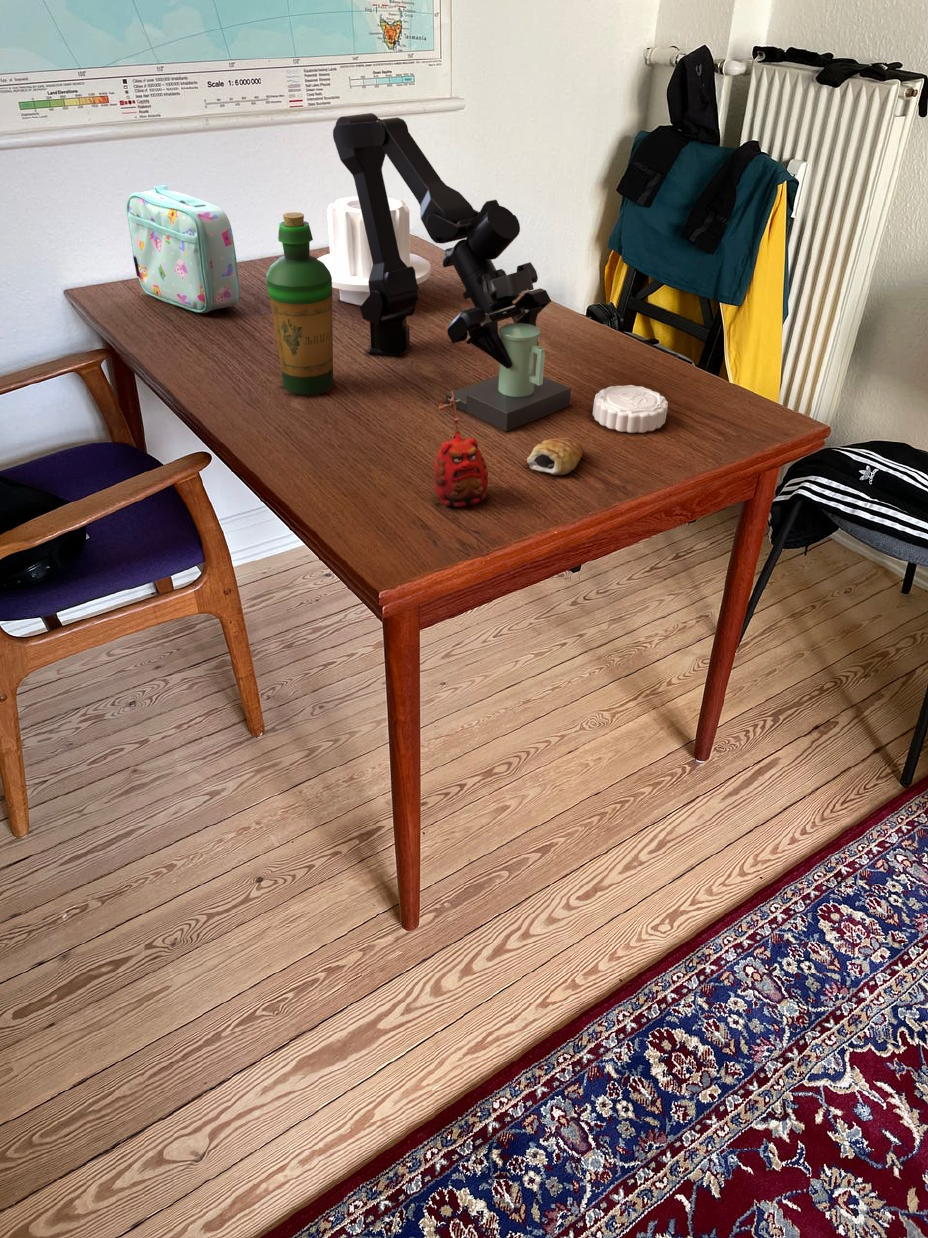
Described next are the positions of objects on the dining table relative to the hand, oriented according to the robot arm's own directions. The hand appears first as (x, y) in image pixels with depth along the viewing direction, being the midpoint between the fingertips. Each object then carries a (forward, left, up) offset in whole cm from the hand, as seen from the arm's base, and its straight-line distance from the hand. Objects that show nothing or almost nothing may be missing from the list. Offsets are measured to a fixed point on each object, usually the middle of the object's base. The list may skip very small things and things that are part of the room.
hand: (523, 362), depth 146 cm
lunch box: (-76, +36, -8) cm, 85 cm away
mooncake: (+18, +2, -8) cm, 20 cm away
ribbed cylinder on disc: (-39, +48, -8) cm, 62 cm away
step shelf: (-3, +2, -8) cm, 9 cm away
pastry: (+8, -17, -8) cm, 21 cm away
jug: (0, 0, -5) cm, 5 cm away
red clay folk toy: (-4, -30, -8) cm, 32 cm away
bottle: (-37, +1, -8) cm, 38 cm away
